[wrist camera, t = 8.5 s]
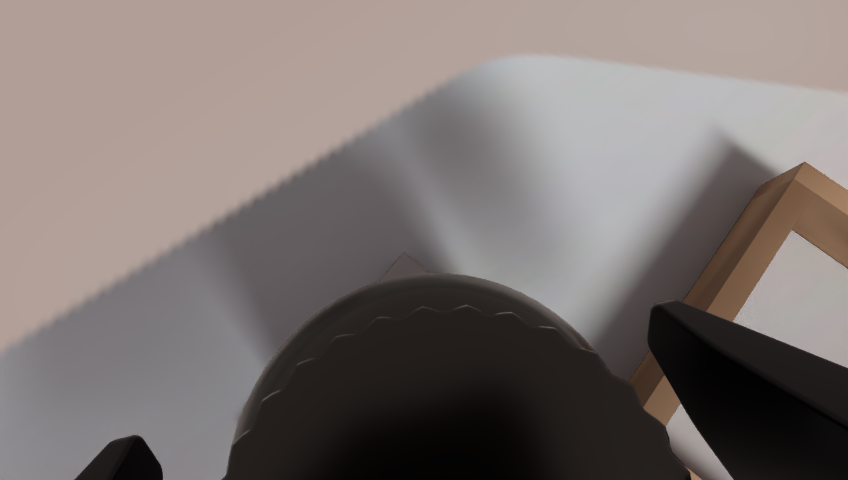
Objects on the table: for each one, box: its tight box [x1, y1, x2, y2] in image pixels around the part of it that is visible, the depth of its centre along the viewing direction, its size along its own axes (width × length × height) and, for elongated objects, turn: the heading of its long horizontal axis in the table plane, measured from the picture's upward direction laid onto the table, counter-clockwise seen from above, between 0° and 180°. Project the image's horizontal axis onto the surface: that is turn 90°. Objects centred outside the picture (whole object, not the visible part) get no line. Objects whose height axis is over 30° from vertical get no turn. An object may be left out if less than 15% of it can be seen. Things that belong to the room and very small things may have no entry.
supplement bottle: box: [221, 273, 691, 480], centre depth 10 cm, size 7×7×12 cm
